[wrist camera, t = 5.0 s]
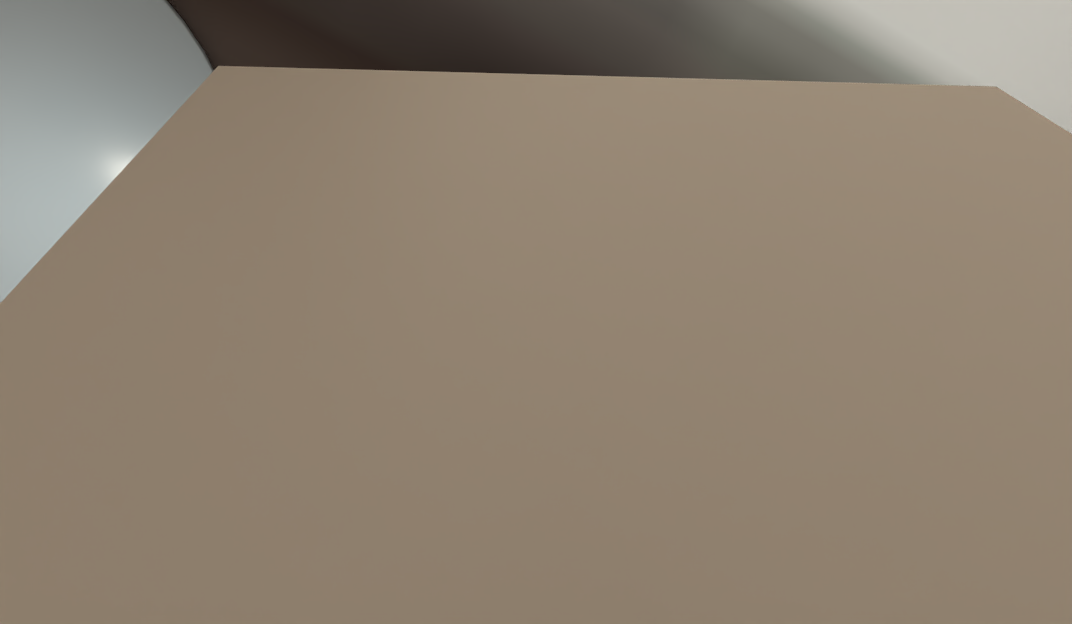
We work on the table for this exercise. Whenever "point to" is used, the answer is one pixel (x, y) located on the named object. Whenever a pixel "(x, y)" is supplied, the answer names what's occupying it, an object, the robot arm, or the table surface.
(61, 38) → the disc
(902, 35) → the table surface
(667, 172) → the block
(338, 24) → the table surface
